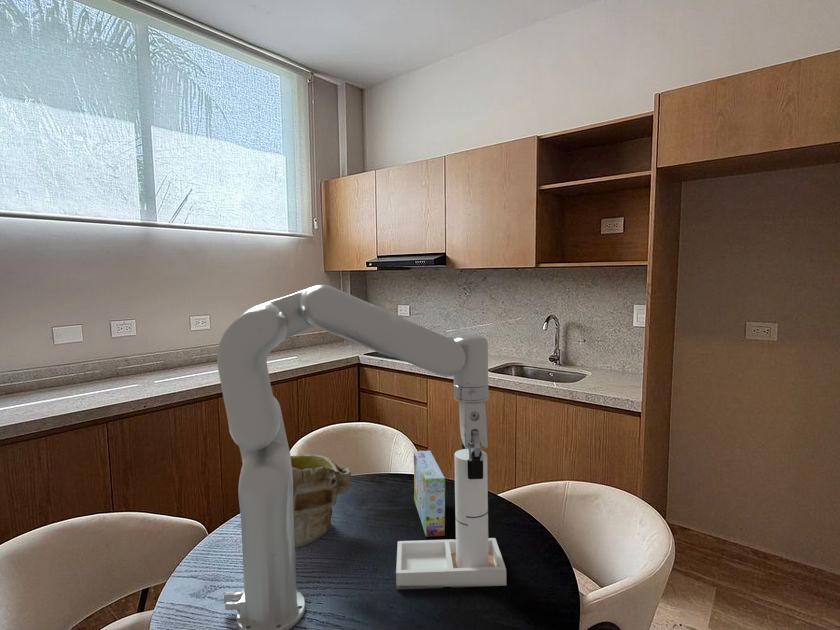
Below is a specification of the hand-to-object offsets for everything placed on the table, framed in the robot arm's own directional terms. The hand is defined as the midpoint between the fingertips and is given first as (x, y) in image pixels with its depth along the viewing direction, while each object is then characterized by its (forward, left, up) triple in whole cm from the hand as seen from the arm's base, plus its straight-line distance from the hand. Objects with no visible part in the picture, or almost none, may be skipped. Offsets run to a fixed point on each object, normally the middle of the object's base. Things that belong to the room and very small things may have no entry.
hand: (472, 469), depth 99 cm
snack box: (-9, +24, -23) cm, 34 cm away
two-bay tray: (-6, 0, -23) cm, 23 cm away
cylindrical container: (0, 0, -22) cm, 22 cm away
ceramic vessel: (-41, +18, -23) cm, 50 cm away
